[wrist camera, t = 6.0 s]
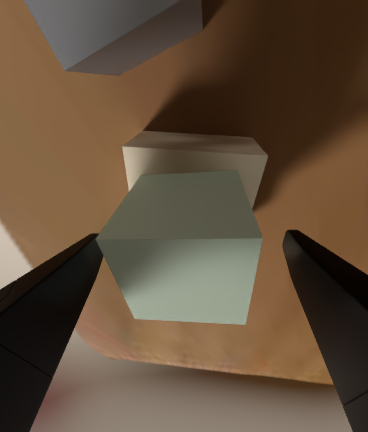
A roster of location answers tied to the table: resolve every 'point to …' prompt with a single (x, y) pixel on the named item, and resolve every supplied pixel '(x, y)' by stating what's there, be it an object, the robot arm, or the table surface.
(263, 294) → the table surface
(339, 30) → the table surface
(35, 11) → the grey block
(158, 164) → the birch slab
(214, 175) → the sage block
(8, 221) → the table surface
